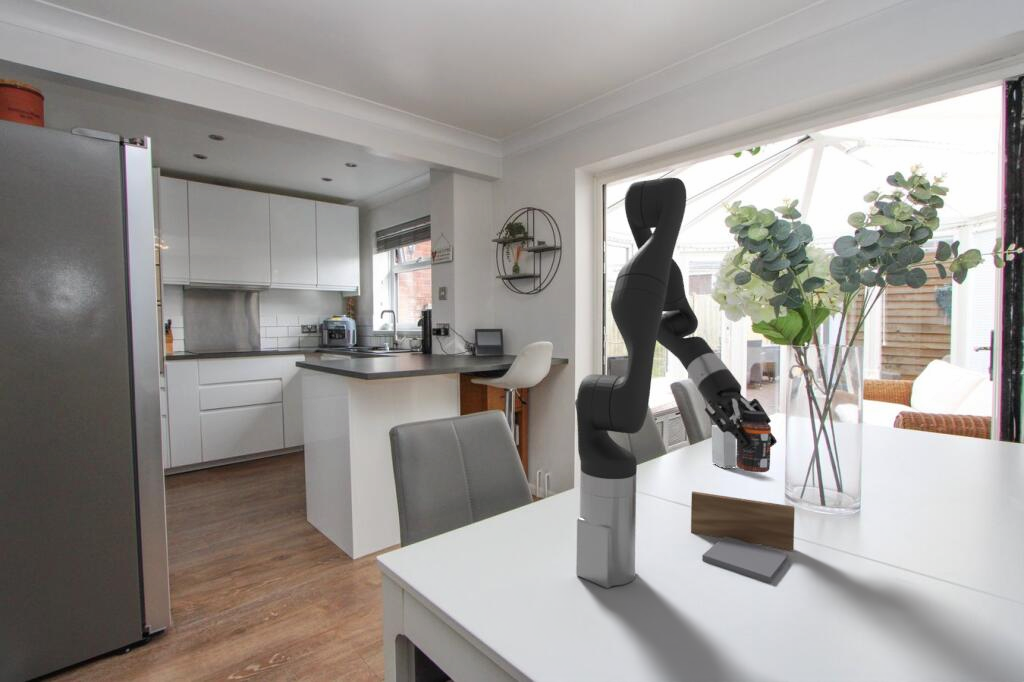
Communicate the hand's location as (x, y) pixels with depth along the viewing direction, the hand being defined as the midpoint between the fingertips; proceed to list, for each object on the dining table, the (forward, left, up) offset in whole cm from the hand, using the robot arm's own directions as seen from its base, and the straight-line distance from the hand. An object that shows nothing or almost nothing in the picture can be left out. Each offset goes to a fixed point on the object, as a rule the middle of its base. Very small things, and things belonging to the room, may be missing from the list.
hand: (761, 446), depth 94 cm
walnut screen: (-2, +3, -19) cm, 19 cm away
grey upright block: (+48, +24, -19) cm, 57 cm away
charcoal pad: (-10, -1, -19) cm, 21 cm away
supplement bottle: (+1, +2, -5) cm, 5 cm away
